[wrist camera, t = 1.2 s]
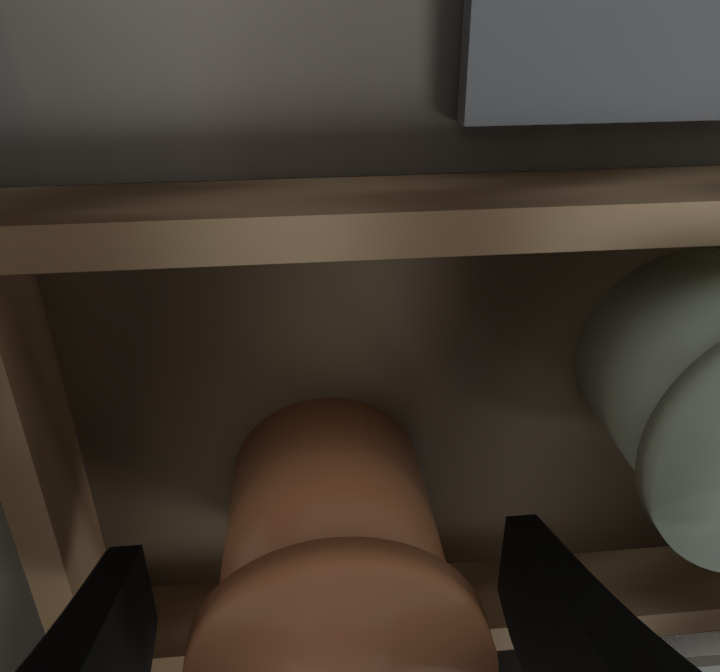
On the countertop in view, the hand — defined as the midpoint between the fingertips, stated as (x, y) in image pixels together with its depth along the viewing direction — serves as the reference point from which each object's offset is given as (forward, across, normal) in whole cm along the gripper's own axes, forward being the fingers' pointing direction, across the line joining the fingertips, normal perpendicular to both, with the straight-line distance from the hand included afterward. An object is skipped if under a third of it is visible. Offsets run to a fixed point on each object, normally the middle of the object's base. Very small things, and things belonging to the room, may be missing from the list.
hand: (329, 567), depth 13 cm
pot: (+3, 0, 0) cm, 3 cm away
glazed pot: (+3, -8, -3) cm, 9 cm away
